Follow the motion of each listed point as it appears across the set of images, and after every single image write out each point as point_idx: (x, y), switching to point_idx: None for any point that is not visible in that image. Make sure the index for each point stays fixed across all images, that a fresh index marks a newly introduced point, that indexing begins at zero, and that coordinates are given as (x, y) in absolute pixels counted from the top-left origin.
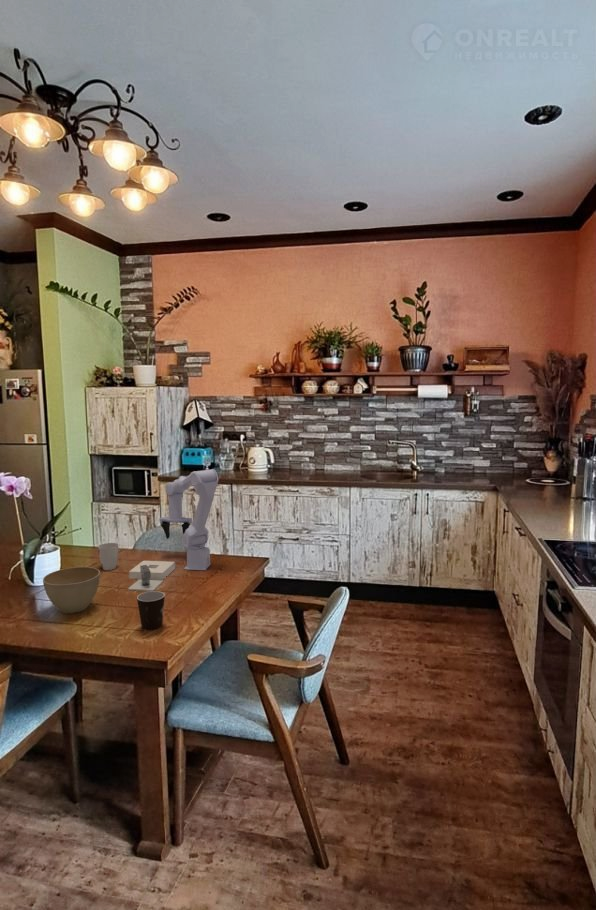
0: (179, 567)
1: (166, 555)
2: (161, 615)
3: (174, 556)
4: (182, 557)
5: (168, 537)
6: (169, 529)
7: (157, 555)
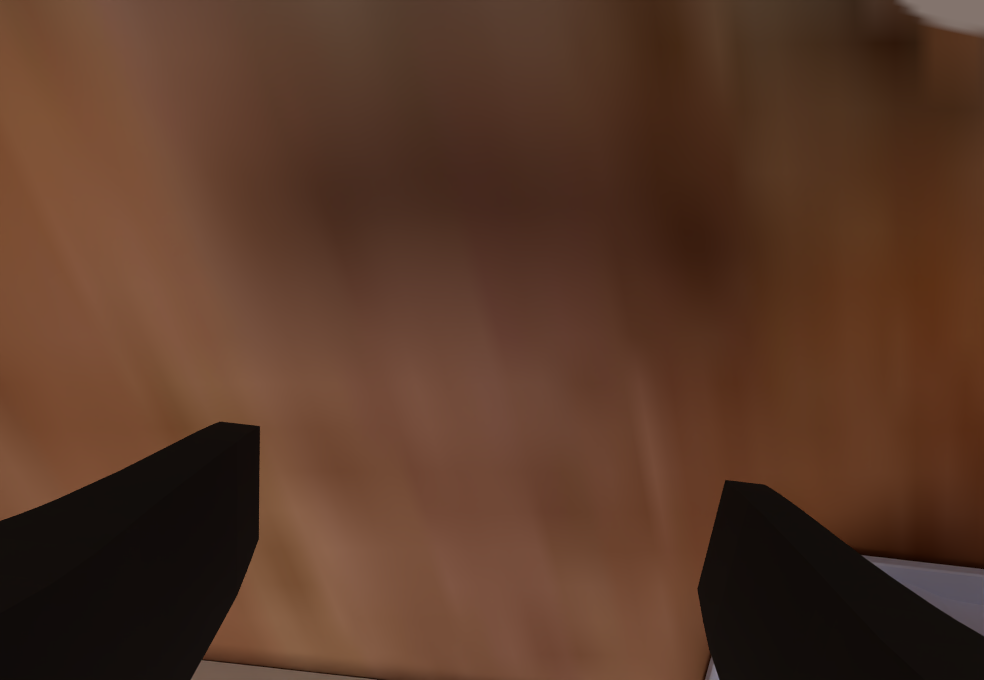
0: (617, 659)
1: (257, 122)
2: None
3: (421, 181)
4: (575, 237)
5: (250, 517)
6: (134, 524)
7: (94, 123)
